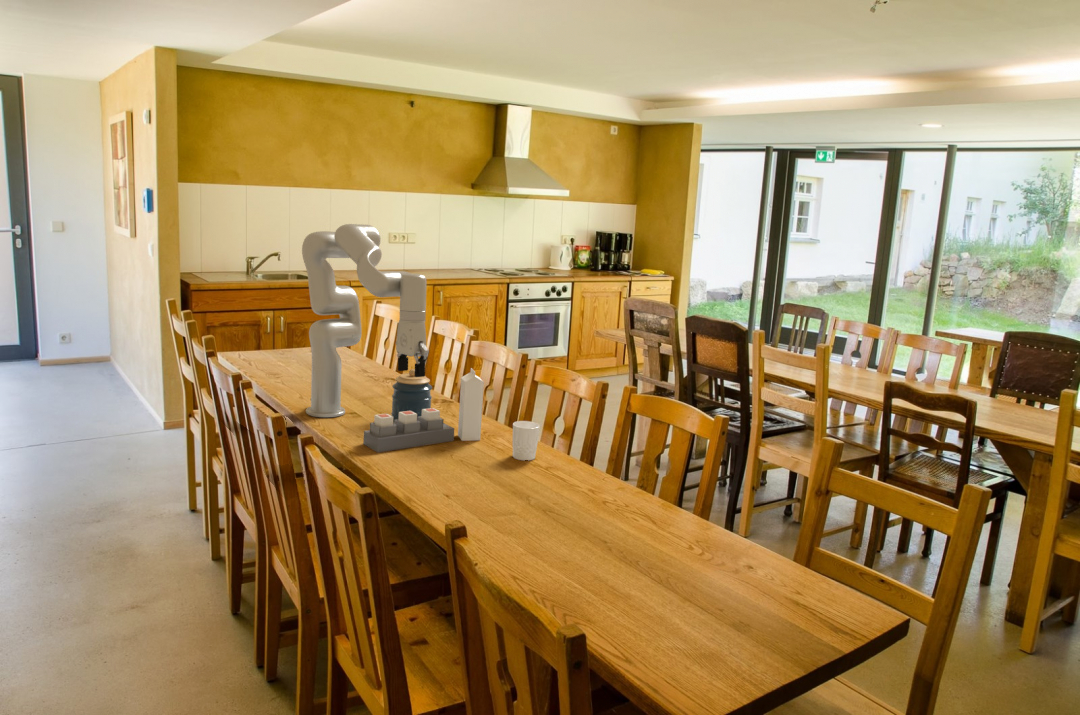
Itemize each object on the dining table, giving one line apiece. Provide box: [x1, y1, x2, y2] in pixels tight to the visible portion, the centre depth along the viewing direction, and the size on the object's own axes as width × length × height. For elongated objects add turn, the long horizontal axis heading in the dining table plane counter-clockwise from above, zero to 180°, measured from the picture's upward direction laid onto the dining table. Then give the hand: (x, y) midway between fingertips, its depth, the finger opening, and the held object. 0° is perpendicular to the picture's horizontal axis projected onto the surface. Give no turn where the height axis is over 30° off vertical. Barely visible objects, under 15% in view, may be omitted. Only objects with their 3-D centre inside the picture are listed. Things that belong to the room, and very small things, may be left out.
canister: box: [390, 368, 433, 423], centre depth 253 cm, size 13×13×18 cm
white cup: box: [512, 420, 541, 461], centre depth 225 cm, size 8×8×10 cm
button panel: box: [362, 416, 455, 453], centre depth 231 cm, size 9×26×7 cm, turn 130°
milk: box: [457, 367, 485, 442], centre depth 239 cm, size 6×6×22 cm
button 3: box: [421, 407, 441, 421], centre depth 235 cm, size 4×4×3 cm
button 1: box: [373, 413, 394, 427], centre depth 224 cm, size 4×4×3 cm
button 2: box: [398, 411, 417, 424], centre depth 230 cm, size 4×4×3 cm
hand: (411, 373), depth 227 cm, fingers open, 9 cm apart
